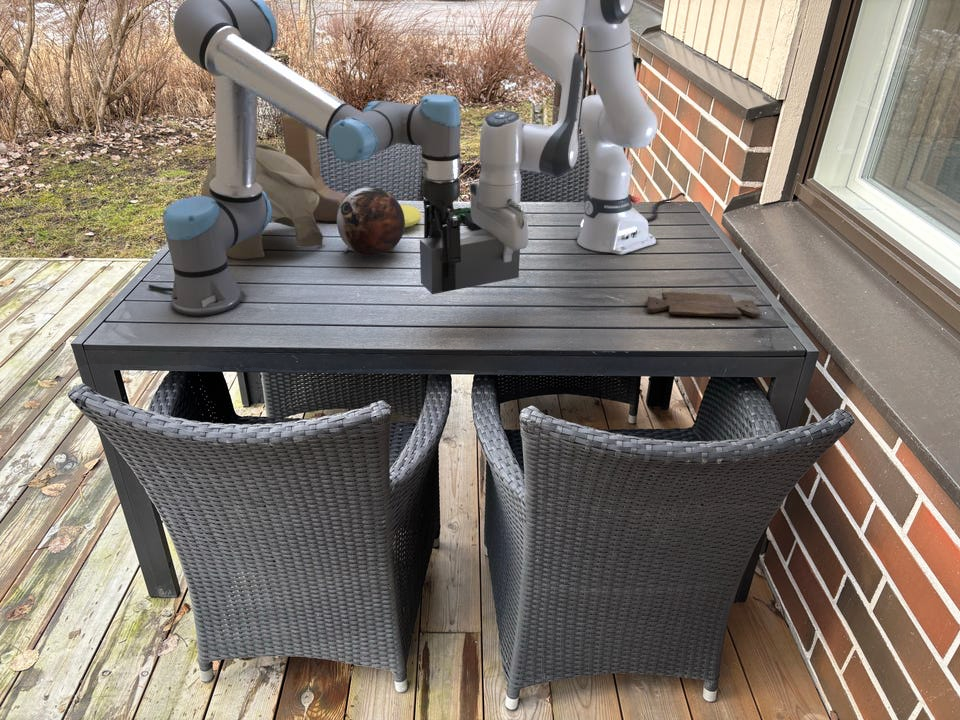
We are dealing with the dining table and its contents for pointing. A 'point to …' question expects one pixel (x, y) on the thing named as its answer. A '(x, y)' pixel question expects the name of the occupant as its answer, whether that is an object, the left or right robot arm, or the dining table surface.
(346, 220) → the marbled brown ball
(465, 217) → the handgun
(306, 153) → the decorative block
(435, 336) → the dining table surface
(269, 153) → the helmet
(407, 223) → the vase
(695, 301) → the dark wooden board
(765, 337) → the dining table surface
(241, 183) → the left robot arm
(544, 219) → the dining table surface
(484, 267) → the box
